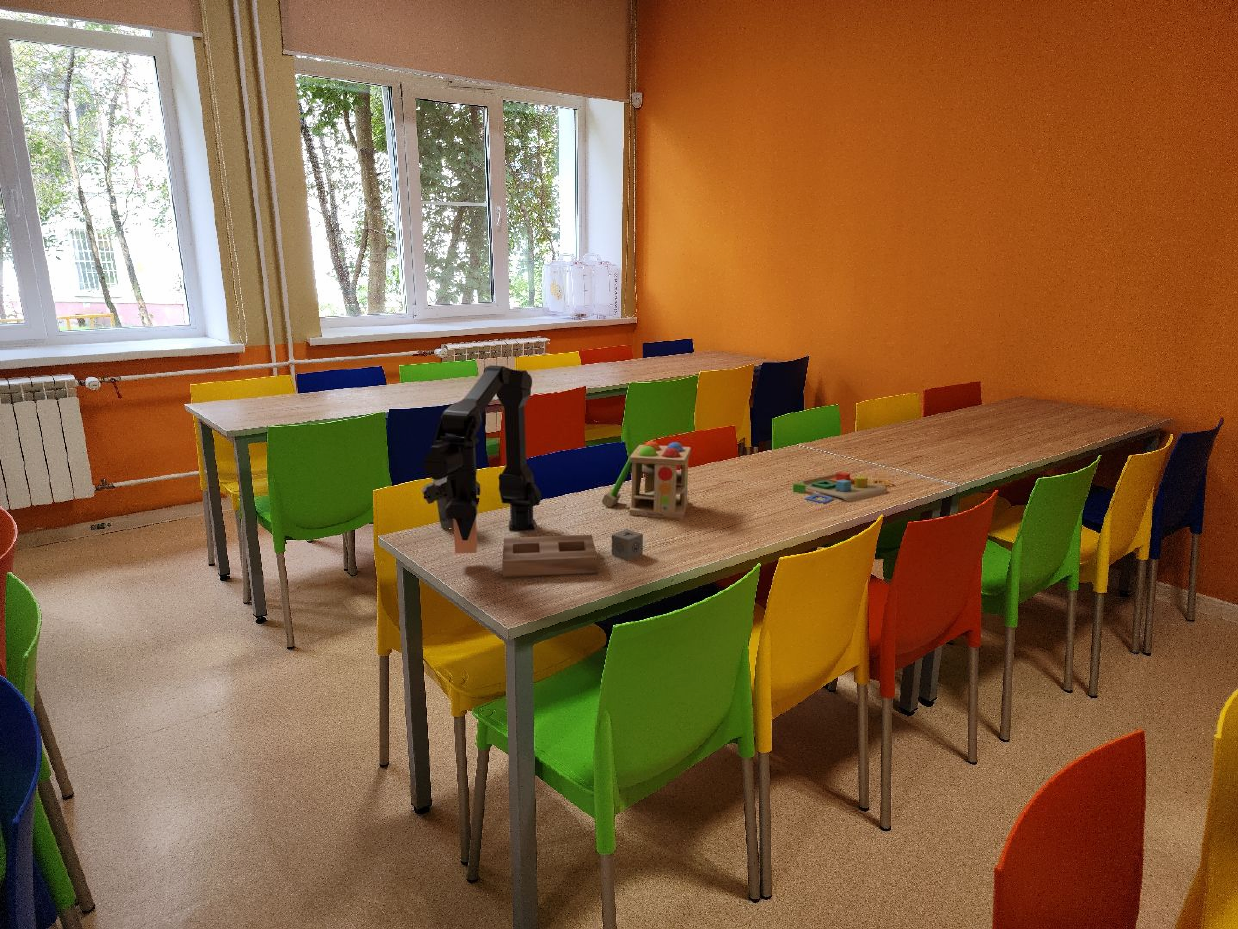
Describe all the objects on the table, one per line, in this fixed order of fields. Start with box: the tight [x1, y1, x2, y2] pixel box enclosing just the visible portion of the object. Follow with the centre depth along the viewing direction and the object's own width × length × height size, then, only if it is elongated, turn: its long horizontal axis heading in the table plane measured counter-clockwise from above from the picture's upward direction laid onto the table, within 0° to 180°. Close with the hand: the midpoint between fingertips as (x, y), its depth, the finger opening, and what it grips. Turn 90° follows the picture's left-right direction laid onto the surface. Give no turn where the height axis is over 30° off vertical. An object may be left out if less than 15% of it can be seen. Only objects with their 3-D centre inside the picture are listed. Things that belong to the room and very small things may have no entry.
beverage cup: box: [432, 476, 454, 530], centre depth 197 cm, size 7×7×20 cm
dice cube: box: [611, 529, 644, 561], centre depth 181 cm, size 5×5×5 cm
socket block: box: [501, 534, 598, 580], centre depth 175 cm, size 14×20×4 cm
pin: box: [453, 517, 478, 555], centre depth 173 cm, size 4×4×10 cm
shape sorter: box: [792, 471, 895, 505], centre depth 231 cm, size 34×19×5 cm, turn 123°
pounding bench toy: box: [601, 440, 692, 519], centre depth 212 cm, size 23×14×18 cm, turn 79°
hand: (465, 536), depth 174 cm, fingers closed on pin, 4 cm apart
